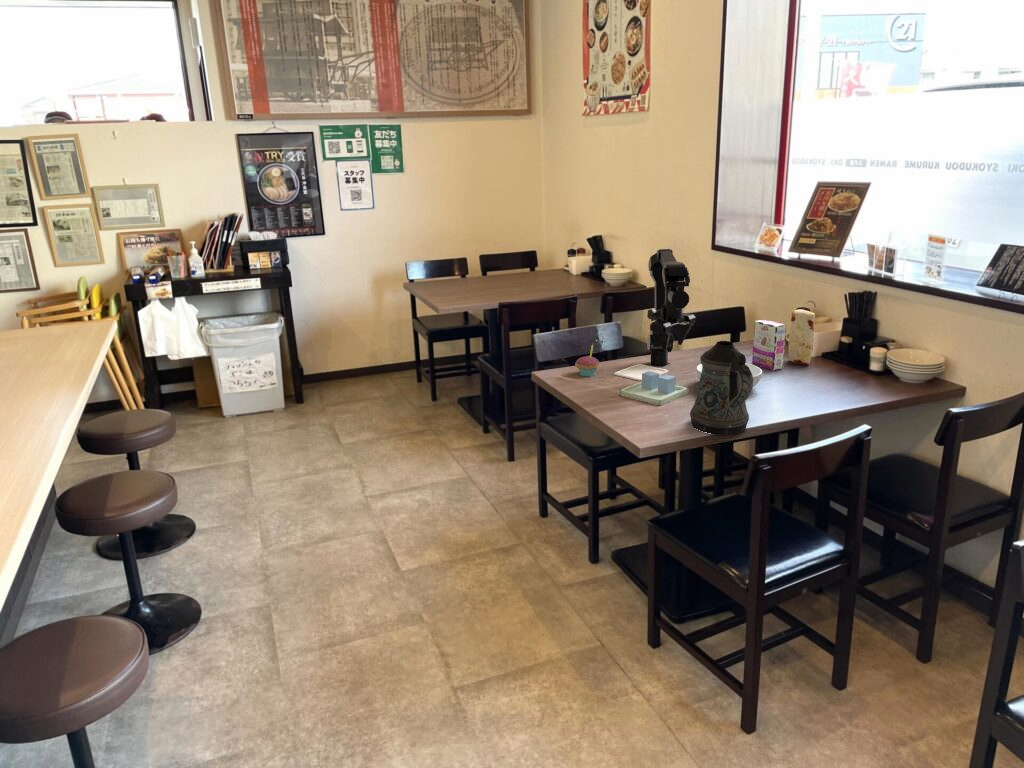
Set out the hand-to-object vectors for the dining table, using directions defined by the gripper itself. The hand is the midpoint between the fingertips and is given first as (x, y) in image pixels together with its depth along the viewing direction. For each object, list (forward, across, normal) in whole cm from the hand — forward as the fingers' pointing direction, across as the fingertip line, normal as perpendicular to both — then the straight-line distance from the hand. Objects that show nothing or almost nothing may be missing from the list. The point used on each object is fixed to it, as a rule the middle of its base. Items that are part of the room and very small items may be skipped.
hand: (672, 347), depth 252 cm
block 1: (+12, +10, -2) cm, 16 cm away
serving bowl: (+13, -8, +17) cm, 23 cm away
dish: (+13, -2, -14) cm, 19 cm away
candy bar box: (+13, -39, +15) cm, 44 cm away
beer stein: (+13, +24, +34) cm, 44 cm away
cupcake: (+13, +11, -28) cm, 33 cm away
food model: (+13, -50, +22) cm, 56 cm away
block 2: (+12, +10, +5) cm, 16 cm away
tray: (+13, +13, +2) cm, 18 cm away
